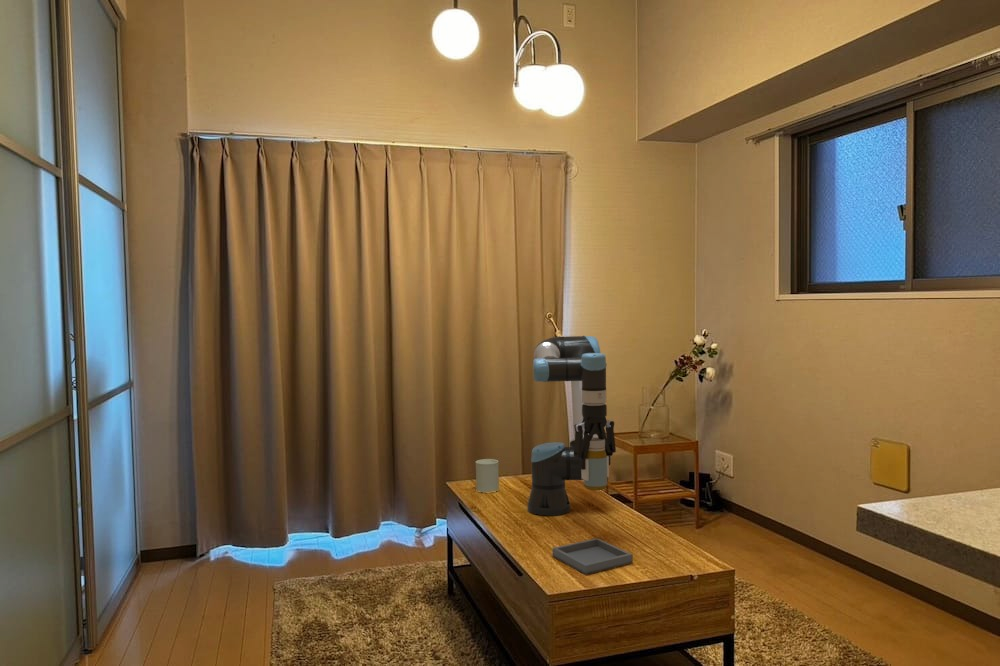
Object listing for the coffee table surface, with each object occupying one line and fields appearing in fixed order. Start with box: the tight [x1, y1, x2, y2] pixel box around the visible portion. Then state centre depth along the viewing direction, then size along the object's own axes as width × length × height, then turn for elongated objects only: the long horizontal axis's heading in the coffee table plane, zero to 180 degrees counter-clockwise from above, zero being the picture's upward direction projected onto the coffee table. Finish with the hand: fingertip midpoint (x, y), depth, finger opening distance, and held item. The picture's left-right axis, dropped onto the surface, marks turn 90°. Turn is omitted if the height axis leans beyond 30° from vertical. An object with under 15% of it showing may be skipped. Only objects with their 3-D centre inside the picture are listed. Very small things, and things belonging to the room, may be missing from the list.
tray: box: [552, 537, 634, 576], centre depth 194 cm, size 16×16×2 cm
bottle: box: [583, 438, 608, 491], centre depth 211 cm, size 7×7×15 cm
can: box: [475, 458, 500, 492], centre depth 270 cm, size 9×9×12 cm
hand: (595, 477), depth 211 cm, fingers closed on bottle, 7 cm apart
